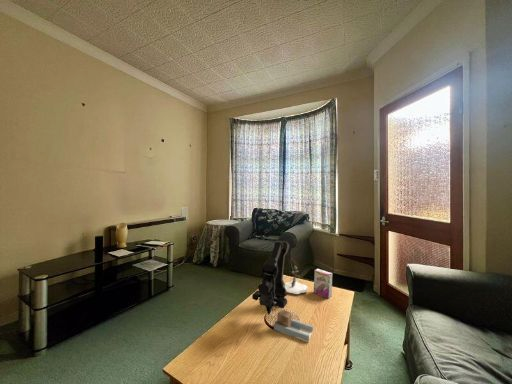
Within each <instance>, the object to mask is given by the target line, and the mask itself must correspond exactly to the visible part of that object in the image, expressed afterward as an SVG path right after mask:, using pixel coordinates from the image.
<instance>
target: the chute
mask: <svg viewBox="0 0 512 384" xmlns="http://www.w3.org/2000/svg"><path fill="white" fill-rule="evenodd" d="M273 330H274V331H276V332H279V333H282V334H284V335H288V336H290V337H292V338H296V339H298V340H301V341H303V342H306V343H309V342H310V340H311V338H312V334H313V332H314V326H313V325H312V324H308V323H306V322H302V321H299V320H296V319H292V318H291V327H290V328H289V327H286V326H284V325H281V324H277V320H276V321H275V322H274V324H273Z"/></svg>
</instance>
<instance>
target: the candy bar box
mask: <svg viewBox="0 0 512 384" xmlns="http://www.w3.org/2000/svg"><path fill="white" fill-rule="evenodd" d="M313 273H314V275H313V276H314V277H313V293H314V294H316V295H318V296H320V297H323V298H324V299H330V298H331V297H332V294H333V293H332V292H333V290H332V288H333V272H329V271H326V270H323V269H320V268H316V269H314V272H313Z"/></svg>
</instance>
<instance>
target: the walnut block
mask: <svg viewBox="0 0 512 384" xmlns="http://www.w3.org/2000/svg"><path fill="white" fill-rule="evenodd" d="M292 315H293V314H292V312H291V311H288V310H285V309H283V308H280V310H279V311H278V313H277V319H276V321H277V324H281V325H284V326H286V327H289V328H290V327H291V319H292V317H293V316H292Z"/></svg>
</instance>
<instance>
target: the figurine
mask: <svg viewBox="0 0 512 384" xmlns="http://www.w3.org/2000/svg"><path fill="white" fill-rule="evenodd" d="M293 269H295V271H294V270H291V275H294V277H293V278H292V281H290V282H284V284H285V289H286V293H290V294H294V295H299V294H304V293H307V292H308V289H309V287H308V286H307V285H306V284H303V283H301V282H299V281H297V279H296V277H298V278H300V277H301V276H300V275H297V273H299V271H300V269H299V270H298V267H297V266H296V265H294V268H293Z"/></svg>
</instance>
